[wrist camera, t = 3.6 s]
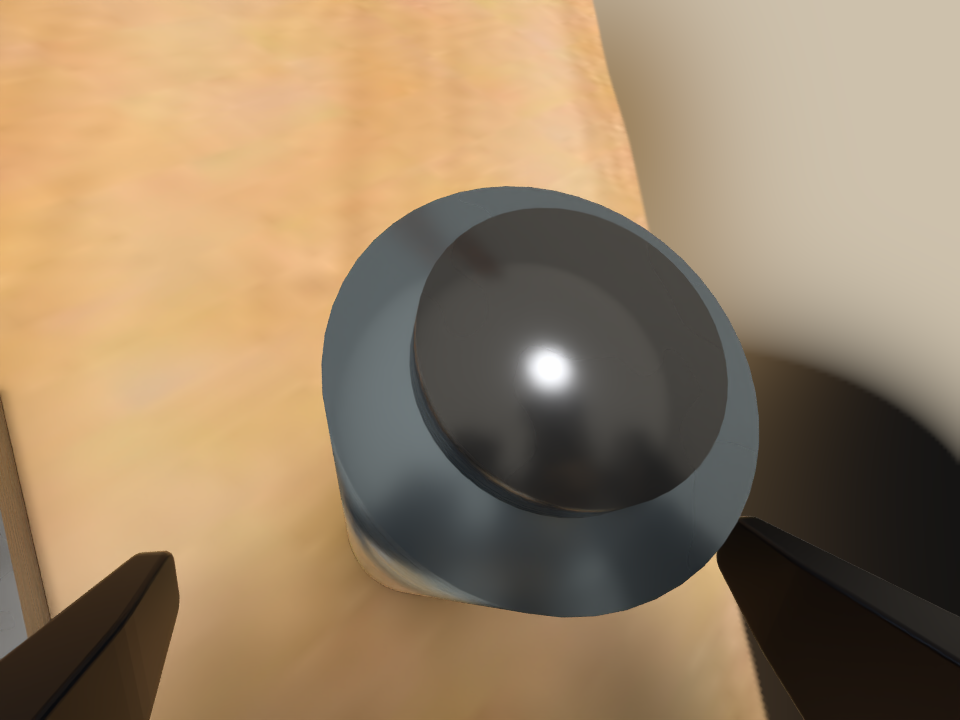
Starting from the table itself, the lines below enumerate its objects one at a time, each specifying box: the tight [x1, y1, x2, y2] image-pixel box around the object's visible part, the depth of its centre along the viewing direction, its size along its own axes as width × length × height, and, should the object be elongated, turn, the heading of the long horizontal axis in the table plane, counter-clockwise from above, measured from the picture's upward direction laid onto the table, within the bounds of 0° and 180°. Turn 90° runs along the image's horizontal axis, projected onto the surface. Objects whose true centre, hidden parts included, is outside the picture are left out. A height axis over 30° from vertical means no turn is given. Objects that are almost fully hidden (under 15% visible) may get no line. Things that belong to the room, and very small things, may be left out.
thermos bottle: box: [322, 186, 759, 617], centre depth 11 cm, size 5×5×14 cm
